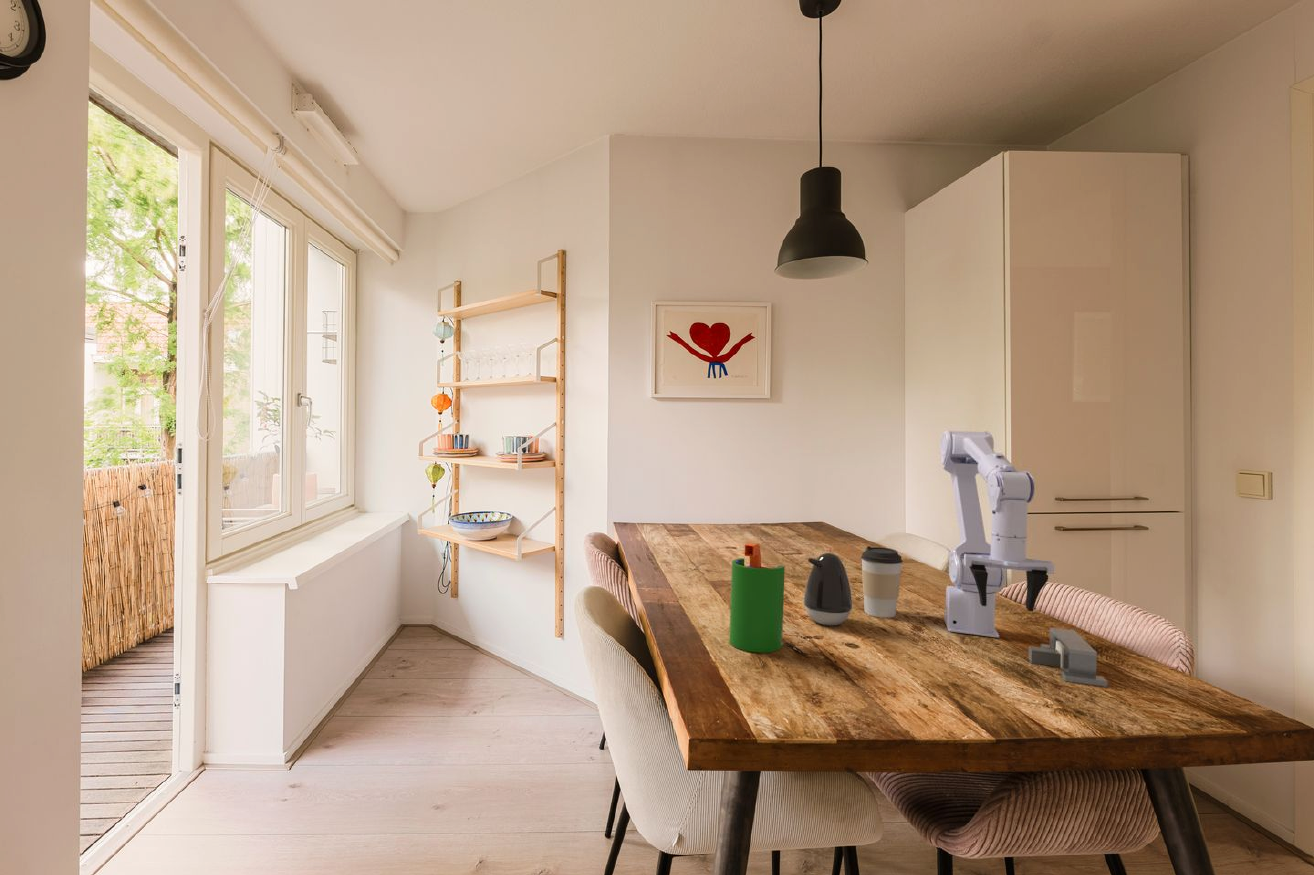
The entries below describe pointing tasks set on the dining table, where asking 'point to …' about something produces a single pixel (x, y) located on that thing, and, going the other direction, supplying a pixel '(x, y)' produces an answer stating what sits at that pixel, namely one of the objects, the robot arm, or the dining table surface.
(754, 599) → the motor
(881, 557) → the coffee cup
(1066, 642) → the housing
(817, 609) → the black penguin figurine
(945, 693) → the dining table surface
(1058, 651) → the plug
